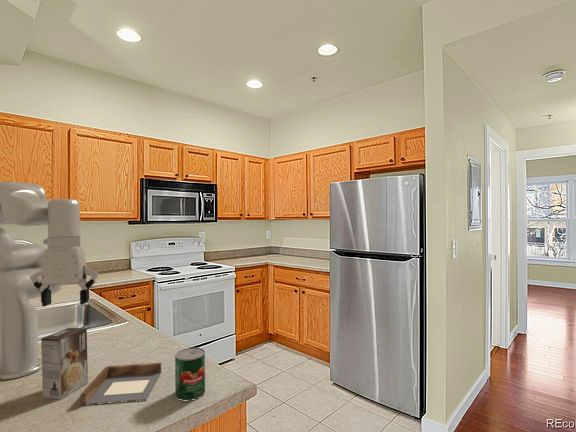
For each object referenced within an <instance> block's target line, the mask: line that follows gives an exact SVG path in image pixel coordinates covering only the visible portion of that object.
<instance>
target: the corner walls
mask: <svg viewBox="0 0 576 432" xmlns="http://www.w3.org/2000/svg"><path fill="white" fill-rule="evenodd" d="M150 373H160V375H161V374H162V362H151V363H135V364H133V363H132V364H120V365H118V364H117V365H107V366H104V368H103V369H102V370H101V371H100V372H99V374H98V375H97V376H96V377H95V378H94V379H93V380H92V381H91V382H90V383H89V384H88V385H87V386H86V388H85V389H84V390H83V391H82V392H81V393H80V405H84V406H87V405H86V403H87V402H88V401H89V400H90V398H91V397H92V396H93V395H94V394H95V392H96V391H97V390H98V389H99V388H100V387H101V385H102V384H103V383H104V382H105V381H106V379H107V378H108V377H109V376H121V375H135V374H150Z"/></svg>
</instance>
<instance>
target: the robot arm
mask: <svg viewBox="0 0 576 432" xmlns="http://www.w3.org/2000/svg"><path fill="white" fill-rule="evenodd" d="M46 196H47V195H46V191H45V189H44V188H43V186H41V185H40V184H37V183H31V182H19V181H0V225H18V226H22V227H23V226H24V227H26V226H27V227H28V226H29V227H32V226H47V239H43V240H42V243H43V245H42V244H38V243H30V244H29V243H28V244H19V243H17V242H16V241H15V240H14V239H15V238H14V237H13V235H12V234H11V233H10V232H8V231H7V230H6V229H4V228H2V227H0V380H4V381H5V380H12V379H17V378H21V377H25V376H28V375H31V374H33V373H36V372H37V371H39V370H42V358H39V328H38V327H39V325H38V324H39V323H38V320H39V319H38V316H39V315H38V310H37V308H36V307H35V306H34V305H33V304H31V302H30V301H29V300H31V299H35V298H40V302H41V307H47V306H49V305H51V304H52V295H53V294H56V293H58V292H59V291H60V290H61V289H62V288H63V286H67V285H68V286H69V285H70V286H71V285H78V287H79V288H81V289H80V291H79V305H85V304H88V302H89V300H90V288H91V287H92V286H93V285H94V284H95V283H96V282H97V279H98V277H99V275H100V273H99V272H97V271H95V270H93V269H91V268H89V267H87V261H86V255H85V251H84V248H83V246H81V206H80V202H79V201H78V200H77V199H74V198H73V199H72V198H53V199H50V198H49V199H48V198H47V197H46ZM44 245H47V247H45V246H44ZM88 275H89V276H90V279H89V280H87V277H88Z"/></svg>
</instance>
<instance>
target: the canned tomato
mask: <svg viewBox="0 0 576 432" xmlns="http://www.w3.org/2000/svg"><path fill="white" fill-rule="evenodd" d="M174 357H175V358H174V359H175V361H174V362H175V363H174V366H175V368H174V369H175V370H174V372H175V374H174V375H175V376H174V379H175V396H176V397H177V398H178V399H182V400H192V399H196V400H198V399H197V398H199V397H200V398H202V397H203V396H204V395H205V394H206V350H205V349H203V348H201V347H187V348H183V349H180V350H179V351H177V352H176V353H175V354H174ZM204 393H205V394H204ZM202 395H203V396H202ZM201 396H202V397H201ZM176 397H175V398H176ZM200 398H199V399H200ZM178 399H177V400H178Z"/></svg>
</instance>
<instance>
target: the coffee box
mask: <svg viewBox="0 0 576 432" xmlns="http://www.w3.org/2000/svg"><path fill="white" fill-rule="evenodd" d="M87 329H88V328H85V327H84V328H83V327H82V328H81V327H67V328H65V329H62V330H59V331H57V332H55V333H51V334H50V335H47V336H44V337H41V359H42V368H41V375H42V376H41V381H42V382H41V383H42V384H41V385H42V387H41V388H42V398H45V399H46V398H47V399H56V400H57V399H58V400H62V399H65V398H66V397H67V396H69V395H71V394H72V393H74V392H75V391H77V390H78V389H80V388H82V387H83V386H85V385H87V384H89V378H88V377H89V371H88V370H89V369H88V368H89V367H88V330H87Z"/></svg>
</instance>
